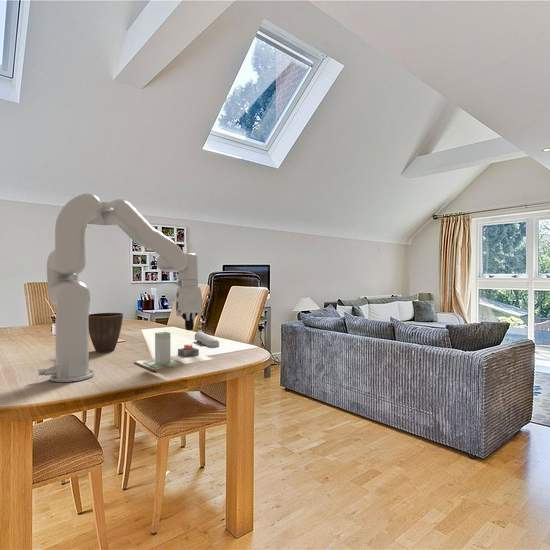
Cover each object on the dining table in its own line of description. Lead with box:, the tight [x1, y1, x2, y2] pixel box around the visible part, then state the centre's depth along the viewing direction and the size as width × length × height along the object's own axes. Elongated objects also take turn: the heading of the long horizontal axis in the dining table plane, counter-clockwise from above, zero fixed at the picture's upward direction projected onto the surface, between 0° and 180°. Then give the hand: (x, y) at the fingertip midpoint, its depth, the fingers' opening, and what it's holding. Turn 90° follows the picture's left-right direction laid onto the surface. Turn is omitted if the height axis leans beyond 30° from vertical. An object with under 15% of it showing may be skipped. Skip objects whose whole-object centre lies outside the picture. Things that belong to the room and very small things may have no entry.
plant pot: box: [88, 312, 124, 354], centre depth 169 cm, size 15×15×16 cm
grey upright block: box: [154, 331, 171, 365], centre depth 140 cm, size 4×4×11 cm
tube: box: [194, 331, 220, 348], centre depth 182 cm, size 5×5×25 cm
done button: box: [183, 344, 193, 350], centre depth 155 cm, size 3×3×2 cm
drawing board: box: [133, 346, 215, 374], centre depth 146 cm, size 25×17×4 cm
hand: (189, 329), depth 155 cm, fingers closed
